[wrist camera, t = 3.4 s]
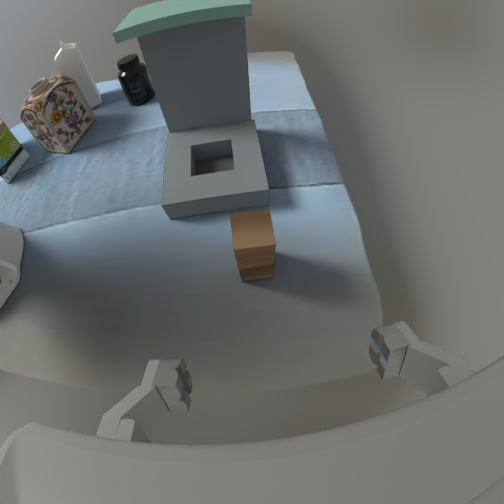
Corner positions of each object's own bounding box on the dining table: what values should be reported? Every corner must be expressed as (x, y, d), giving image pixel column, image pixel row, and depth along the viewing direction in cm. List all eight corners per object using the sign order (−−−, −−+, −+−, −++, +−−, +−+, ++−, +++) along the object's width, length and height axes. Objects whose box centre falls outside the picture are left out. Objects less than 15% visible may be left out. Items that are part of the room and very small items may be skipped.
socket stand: (268, 204, 41) (269, 22, 15) (170, 219, 41) (86, 63, 15) (253, 128, 47) (245, -13, 22) (173, 141, 47) (129, 10, 22)
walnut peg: (272, 277, 37) (275, 244, 26) (242, 282, 36) (233, 249, 26) (268, 250, 38) (269, 208, 28) (238, 254, 38) (229, 213, 28)
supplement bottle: (160, 88, 55) (147, 49, 44) (147, 105, 52) (132, 64, 41) (136, 90, 56) (122, 54, 45) (124, 107, 53) (106, 69, 42)
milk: (100, 94, 58) (72, 33, 37) (102, 102, 56) (72, 37, 35) (81, 104, 57) (51, 46, 36) (82, 114, 55) (49, 51, 34)
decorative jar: (97, 118, 53) (68, 63, 36) (69, 155, 49) (30, 100, 32) (70, 119, 55) (41, 71, 38) (44, 151, 51) (9, 105, 34)
